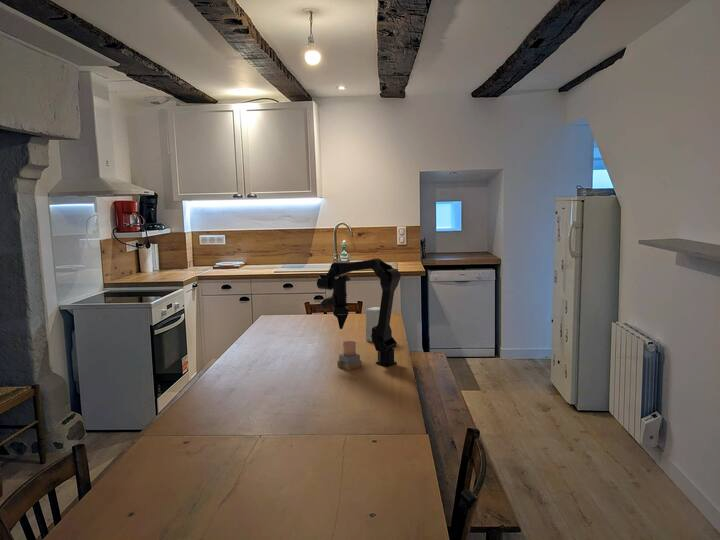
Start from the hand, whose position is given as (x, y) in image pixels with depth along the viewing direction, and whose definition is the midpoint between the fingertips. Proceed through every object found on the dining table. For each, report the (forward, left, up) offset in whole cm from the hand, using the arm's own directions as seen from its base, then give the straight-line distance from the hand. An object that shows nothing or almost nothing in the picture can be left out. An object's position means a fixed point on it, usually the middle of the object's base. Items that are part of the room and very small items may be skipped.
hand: (340, 326), depth 234 cm
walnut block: (-14, +7, -14) cm, 21 cm away
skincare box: (+8, -28, -13) cm, 32 cm away
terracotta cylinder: (-14, +7, -8) cm, 18 cm away
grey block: (-14, +7, -10) cm, 19 cm away
